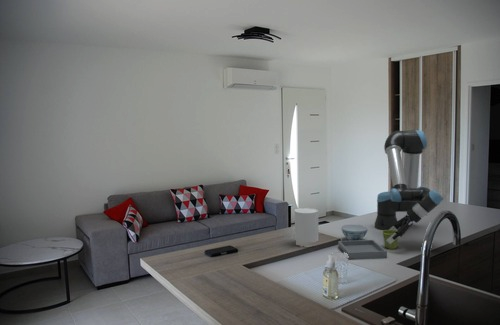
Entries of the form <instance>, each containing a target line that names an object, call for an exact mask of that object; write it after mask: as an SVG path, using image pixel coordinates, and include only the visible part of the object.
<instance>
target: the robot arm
mask: <svg viewBox="0 0 500 325" xmlns="http://www.w3.org/2000/svg"><path fill="white" fill-rule="evenodd" d="M427 141H428V140H427V137H426V134H425V132H424V131H423V130H417V129H415V130H412V129H411V130H395V131H394V132H391V133H390V134H389V135H388V136H387V138H386V140H385V143H384V146H383V149H384V153H385V154H386V155H387V156H386V157H387V161H388V166H389V167H388V168H389V173H390V178H391V185H392V188H391V189H390V190H389V191H383V192H380V193H378V194H377V199H376V202H377V203H376V207H377V210H376V211H377V212H376V218H375V221H374V228H375V229H377V230H381V231H384V230H395V231H396V232H395V233H394V234H393V235H392V236H391V237H390V238H389V239H387V240H386V241H387V242H388V243H389V244H391V243H392V242H394V241H395V240H396V239H397V238H398V239H399V238H400V237H403V235H405V233H406V232H407V231H408V230H409V229H410V228H411V227H412V226H413V225H414V223H416V224H417V223H419V222H420V221H421V220H422V218H425V217H426V216H428V214H429V213H430V212H432V211H433V210H434V209H435V208H436V207H438V206H439V205H440V204H441V203H442V202H443V200H444V197H443V196H442V195H441V194H440V193H439V192H437V190H435V189H432V190H431V189H430V188H428V187H427V186H424V185H423V186H422V185H421V186H418V181H419V180H418V178H419V167H420V166H419V165H420V155H422V154H423V152H424V150H426V148H427V146H428V142H427ZM401 152H402V153H403V154H404V161H403V160H402V155H401ZM403 162H404V163H403ZM397 213H406V215H404V217H402V218H400V219H398V218H397ZM413 222H414V223H413Z"/></svg>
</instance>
